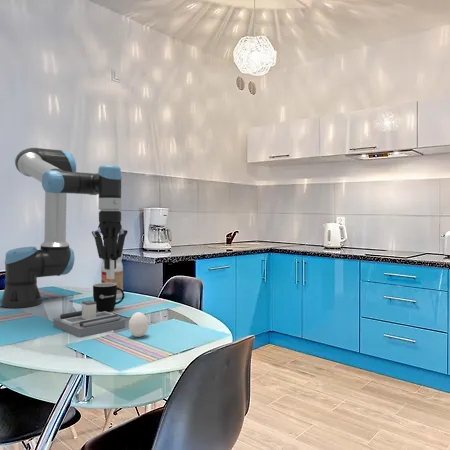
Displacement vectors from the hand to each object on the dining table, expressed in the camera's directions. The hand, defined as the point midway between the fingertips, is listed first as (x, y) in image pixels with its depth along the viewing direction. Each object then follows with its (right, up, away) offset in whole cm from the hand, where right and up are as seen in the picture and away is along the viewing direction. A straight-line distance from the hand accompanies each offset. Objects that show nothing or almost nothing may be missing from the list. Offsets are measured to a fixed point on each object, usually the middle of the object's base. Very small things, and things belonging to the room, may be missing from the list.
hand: (110, 278), depth 147 cm
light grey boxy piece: (-6, -13, -5) cm, 15 cm away
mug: (-6, -15, +19) cm, 25 cm away
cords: (-5, -13, -6) cm, 15 cm away
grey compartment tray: (-6, -16, -5) cm, 17 cm away
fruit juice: (-11, -14, +43) cm, 47 cm away
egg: (+13, -16, -16) cm, 26 cm away
